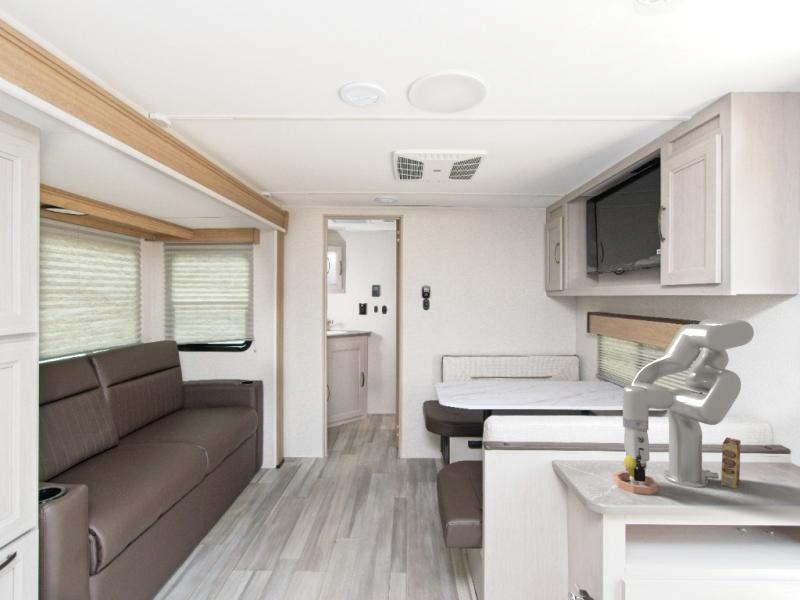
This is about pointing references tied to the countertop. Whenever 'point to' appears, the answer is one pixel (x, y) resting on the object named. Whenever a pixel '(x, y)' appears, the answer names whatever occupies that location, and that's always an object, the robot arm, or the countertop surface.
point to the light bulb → (631, 468)
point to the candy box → (730, 462)
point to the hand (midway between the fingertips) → (635, 475)
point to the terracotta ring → (634, 488)
